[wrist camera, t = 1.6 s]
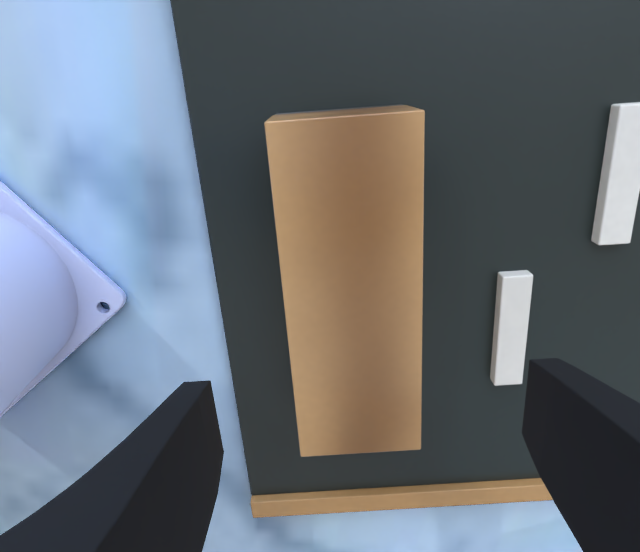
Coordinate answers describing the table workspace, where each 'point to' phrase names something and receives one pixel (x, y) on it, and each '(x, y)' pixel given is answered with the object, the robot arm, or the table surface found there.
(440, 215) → the slate board
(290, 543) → the table surface
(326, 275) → the eraser
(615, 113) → the white chalk stick
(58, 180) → the table surface
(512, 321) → the white rectangular bar
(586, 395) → the robot arm
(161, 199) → the table surface
